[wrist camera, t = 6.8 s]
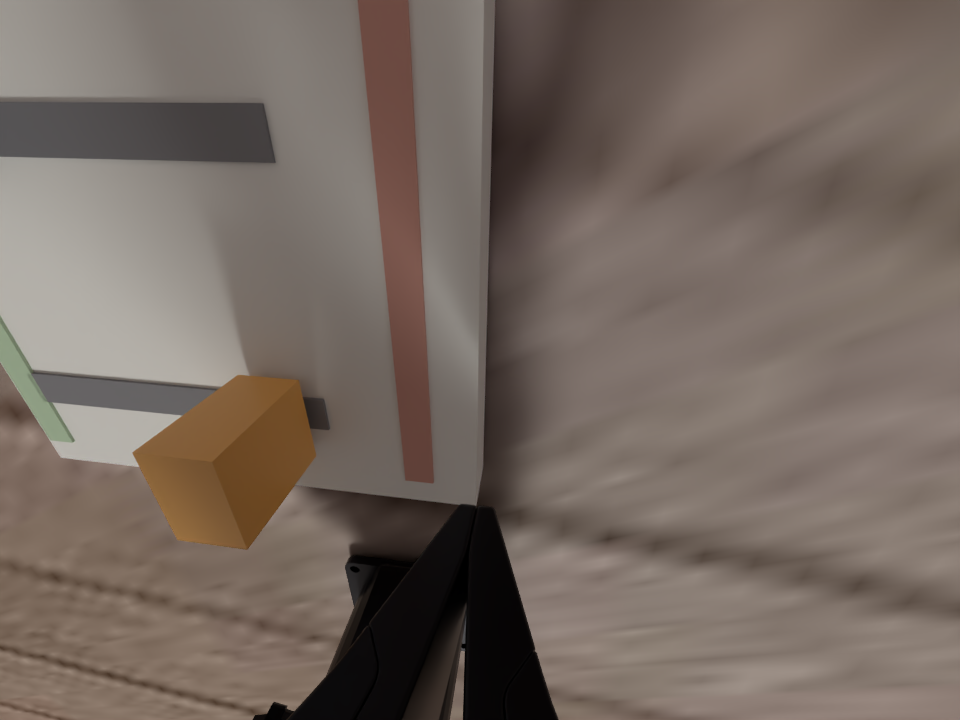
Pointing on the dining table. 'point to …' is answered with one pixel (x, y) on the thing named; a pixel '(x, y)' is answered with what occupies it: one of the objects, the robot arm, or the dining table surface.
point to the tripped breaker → (230, 460)
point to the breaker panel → (252, 224)
